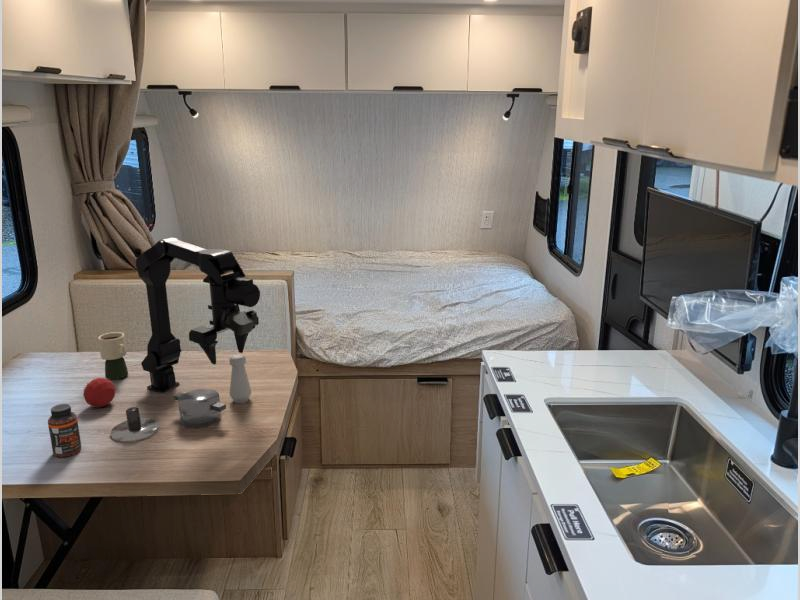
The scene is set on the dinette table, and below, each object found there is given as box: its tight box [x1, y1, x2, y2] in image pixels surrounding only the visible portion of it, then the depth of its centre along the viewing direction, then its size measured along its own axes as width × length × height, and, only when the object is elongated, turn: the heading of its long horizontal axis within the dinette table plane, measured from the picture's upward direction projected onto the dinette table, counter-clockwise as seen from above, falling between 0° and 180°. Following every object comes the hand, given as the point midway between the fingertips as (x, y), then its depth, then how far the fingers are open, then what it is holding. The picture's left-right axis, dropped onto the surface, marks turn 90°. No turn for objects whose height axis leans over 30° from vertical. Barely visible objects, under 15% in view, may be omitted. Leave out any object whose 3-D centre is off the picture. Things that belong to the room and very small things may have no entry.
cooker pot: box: [172, 388, 227, 429], centre depth 158 cm, size 16×10×6 cm, turn 63°
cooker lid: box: [110, 406, 160, 443], centre depth 153 cm, size 11×11×6 cm
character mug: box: [97, 331, 129, 380], centre depth 183 cm, size 11×7×13 cm, turn 59°
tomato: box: [82, 377, 117, 408], centre depth 166 cm, size 8×8×8 cm
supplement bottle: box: [47, 403, 82, 458], centre depth 142 cm, size 6×6×11 cm
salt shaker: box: [229, 353, 252, 404], centre depth 168 cm, size 6×6×13 cm
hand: (227, 358), depth 161 cm, fingers open, 9 cm apart
